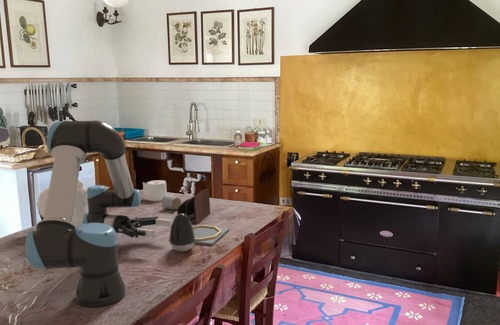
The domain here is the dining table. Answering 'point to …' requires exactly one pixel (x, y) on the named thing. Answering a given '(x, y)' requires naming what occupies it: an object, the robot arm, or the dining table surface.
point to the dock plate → (208, 234)
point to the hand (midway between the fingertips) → (162, 228)
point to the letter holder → (196, 207)
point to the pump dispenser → (182, 233)
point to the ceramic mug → (171, 202)
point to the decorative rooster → (79, 204)
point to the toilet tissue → (154, 190)
